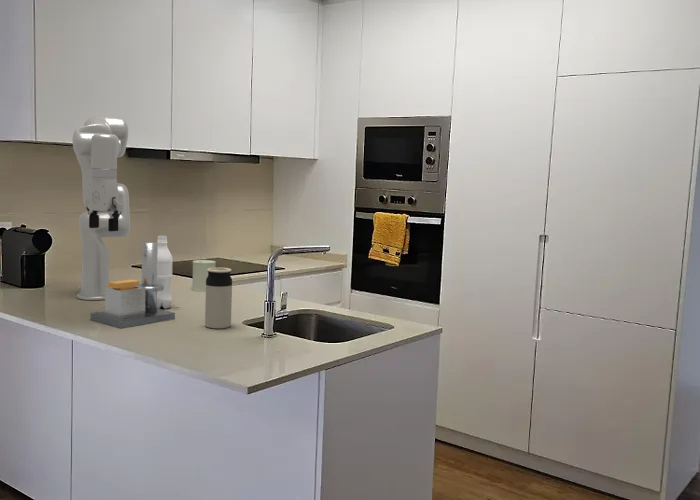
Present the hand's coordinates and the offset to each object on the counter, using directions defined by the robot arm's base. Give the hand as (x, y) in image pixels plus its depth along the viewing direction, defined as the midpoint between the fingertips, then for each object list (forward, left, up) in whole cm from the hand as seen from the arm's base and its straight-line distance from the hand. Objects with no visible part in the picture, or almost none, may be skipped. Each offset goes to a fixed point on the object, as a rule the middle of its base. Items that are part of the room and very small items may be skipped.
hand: (103, 229), depth 215 cm
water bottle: (-2, +24, -29) cm, 37 cm away
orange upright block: (+7, +2, -26) cm, 27 cm away
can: (-20, +59, -29) cm, 68 cm away
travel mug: (+32, +19, -29) cm, 47 cm away
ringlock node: (+7, +6, -28) cm, 30 cm away
